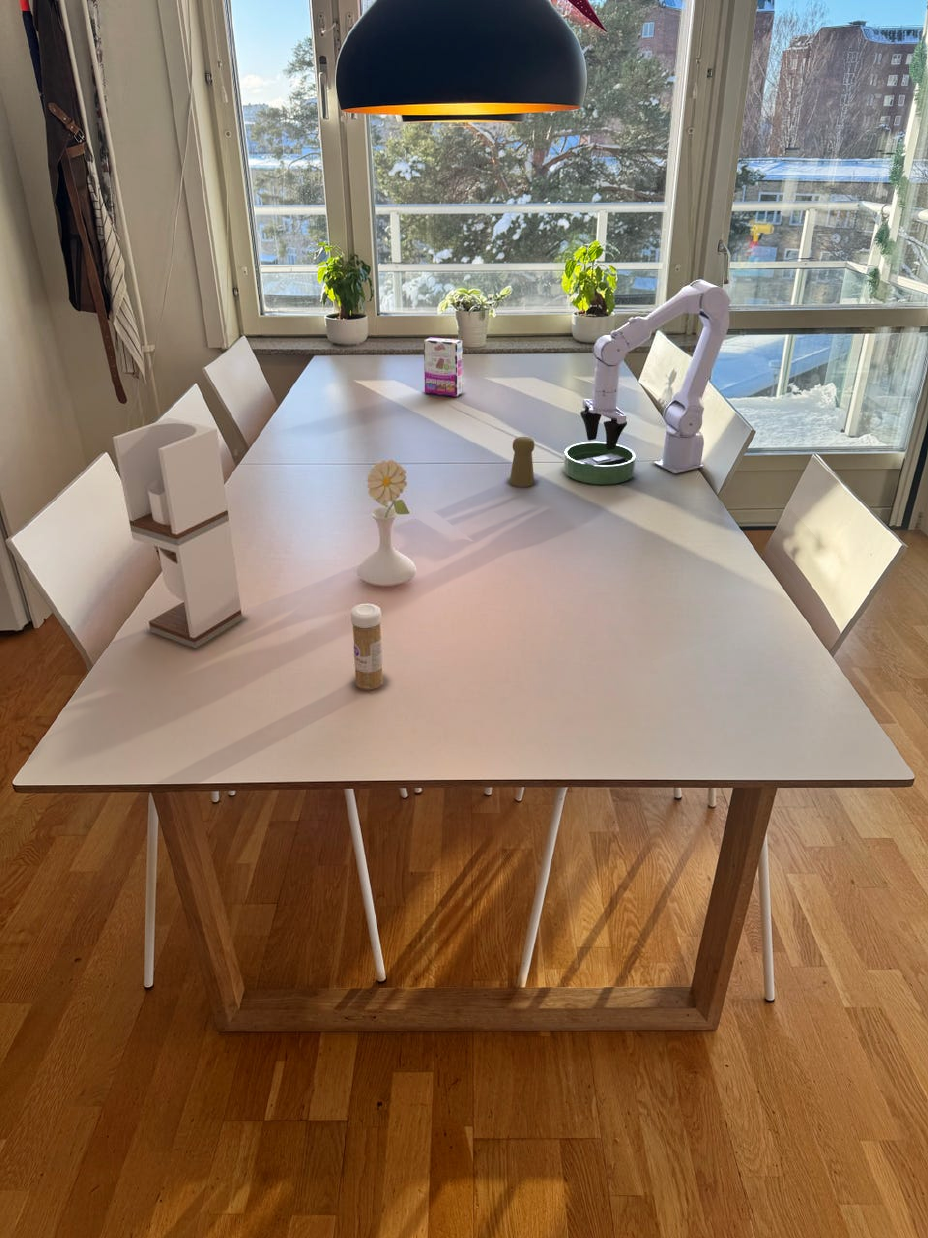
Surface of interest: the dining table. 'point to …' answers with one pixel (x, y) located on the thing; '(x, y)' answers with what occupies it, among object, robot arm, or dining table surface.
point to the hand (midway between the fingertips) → (601, 444)
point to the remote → (604, 460)
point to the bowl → (598, 472)
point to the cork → (522, 462)
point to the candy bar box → (443, 366)
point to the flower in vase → (386, 528)
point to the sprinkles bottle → (367, 646)
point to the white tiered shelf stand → (183, 523)
